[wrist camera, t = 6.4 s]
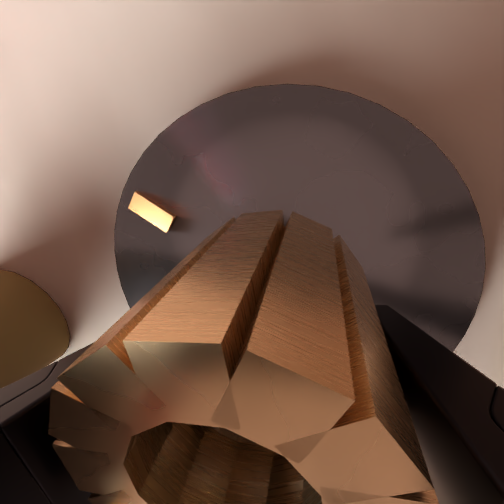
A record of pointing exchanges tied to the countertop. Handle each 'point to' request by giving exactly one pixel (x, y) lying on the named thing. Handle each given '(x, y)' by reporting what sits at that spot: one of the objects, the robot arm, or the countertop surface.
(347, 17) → the countertop surface
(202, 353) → the tan hollow faceted cylinder
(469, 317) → the disc
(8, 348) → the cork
